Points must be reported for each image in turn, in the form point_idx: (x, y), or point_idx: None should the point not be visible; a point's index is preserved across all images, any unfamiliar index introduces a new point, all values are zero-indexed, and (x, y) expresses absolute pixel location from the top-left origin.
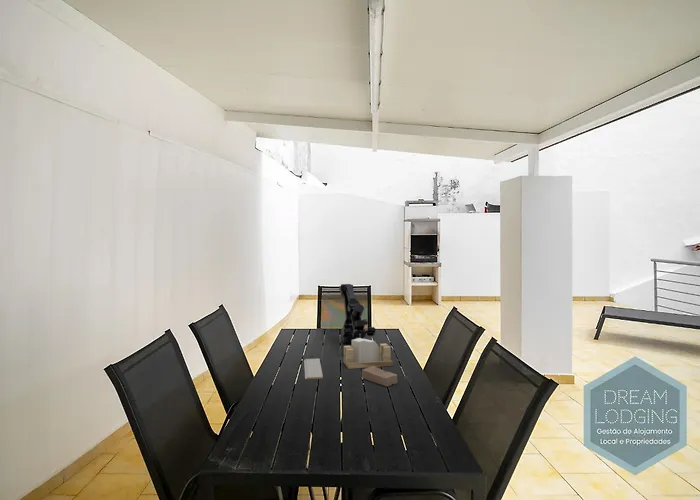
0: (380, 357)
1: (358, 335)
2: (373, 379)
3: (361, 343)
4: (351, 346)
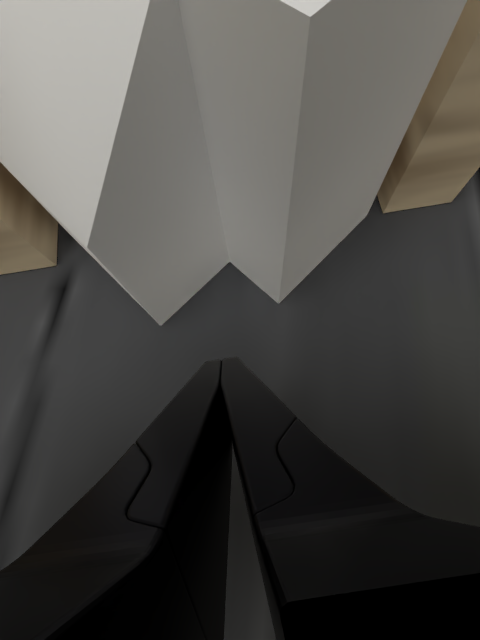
0: (38, 231)
1: (313, 525)
2: None
3: None
4: (451, 33)
